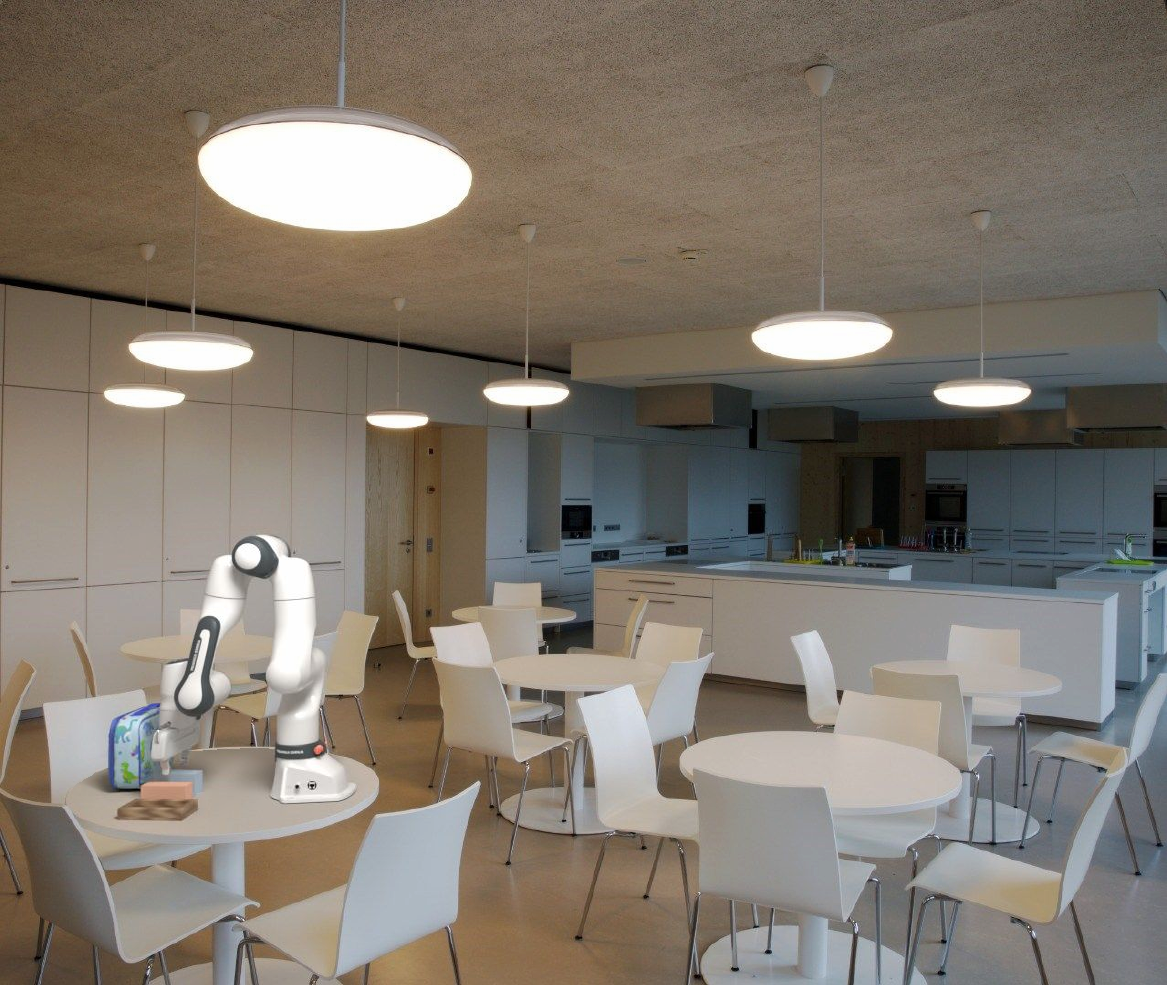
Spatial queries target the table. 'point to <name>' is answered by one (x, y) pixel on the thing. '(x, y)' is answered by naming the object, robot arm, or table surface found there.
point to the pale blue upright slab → (182, 778)
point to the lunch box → (133, 748)
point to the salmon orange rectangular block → (167, 790)
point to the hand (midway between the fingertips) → (175, 769)
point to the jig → (157, 809)
